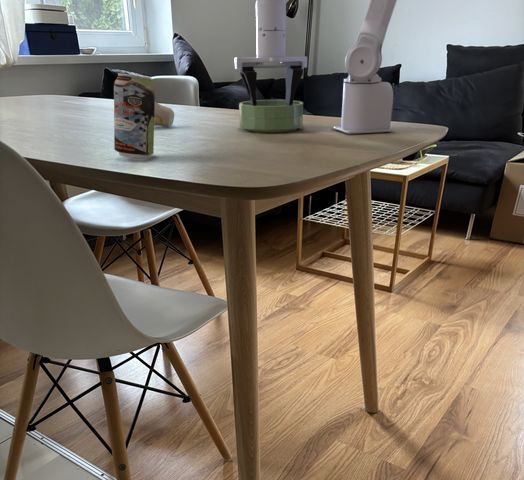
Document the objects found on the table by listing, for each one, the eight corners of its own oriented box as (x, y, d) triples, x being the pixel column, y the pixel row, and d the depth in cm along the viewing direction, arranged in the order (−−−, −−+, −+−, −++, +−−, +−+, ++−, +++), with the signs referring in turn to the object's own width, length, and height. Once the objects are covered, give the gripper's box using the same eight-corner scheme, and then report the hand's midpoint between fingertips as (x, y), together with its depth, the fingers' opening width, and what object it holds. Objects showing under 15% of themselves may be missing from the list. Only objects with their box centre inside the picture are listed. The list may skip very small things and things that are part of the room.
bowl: (291, 123, 115) (291, 98, 112) (311, 131, 104) (312, 104, 101) (234, 126, 112) (233, 101, 109) (248, 135, 101) (247, 107, 99)
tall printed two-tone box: (108, 158, 82) (95, 73, 75) (147, 152, 86) (138, 71, 80) (130, 163, 78) (117, 74, 71) (169, 157, 82) (161, 72, 76)
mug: (180, 129, 110) (153, 85, 103) (142, 150, 112) (113, 109, 105) (180, 116, 115) (154, 73, 108) (144, 136, 117) (117, 96, 111)
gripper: (239, 30, 94) (241, 111, 101) (313, 30, 97) (310, 108, 104) (231, 31, 100) (234, 108, 107) (301, 31, 103) (299, 105, 110)
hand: (271, 108), depth 106 cm, fingers open, 7 cm apart
